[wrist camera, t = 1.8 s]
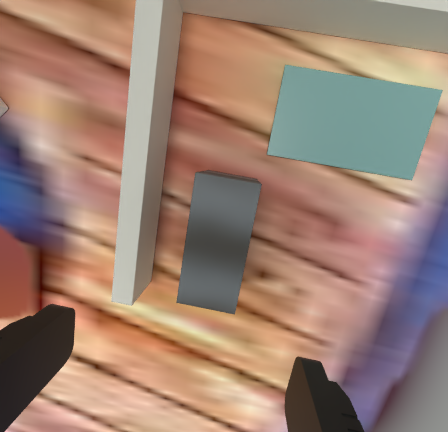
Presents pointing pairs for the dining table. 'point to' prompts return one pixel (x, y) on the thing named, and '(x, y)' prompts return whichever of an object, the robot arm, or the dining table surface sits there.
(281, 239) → the dining table surface
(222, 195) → the bar
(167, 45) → the arena
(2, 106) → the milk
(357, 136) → the pad
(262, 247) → the dining table surface
